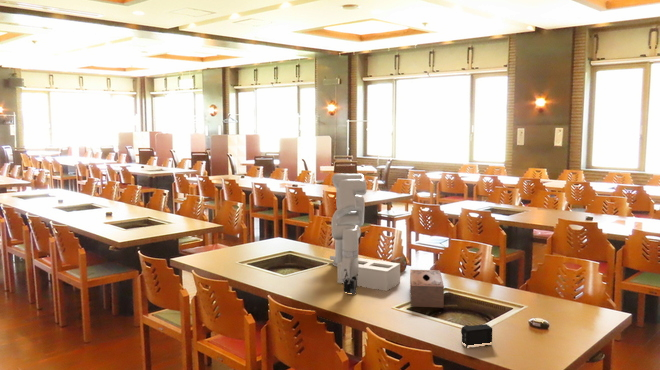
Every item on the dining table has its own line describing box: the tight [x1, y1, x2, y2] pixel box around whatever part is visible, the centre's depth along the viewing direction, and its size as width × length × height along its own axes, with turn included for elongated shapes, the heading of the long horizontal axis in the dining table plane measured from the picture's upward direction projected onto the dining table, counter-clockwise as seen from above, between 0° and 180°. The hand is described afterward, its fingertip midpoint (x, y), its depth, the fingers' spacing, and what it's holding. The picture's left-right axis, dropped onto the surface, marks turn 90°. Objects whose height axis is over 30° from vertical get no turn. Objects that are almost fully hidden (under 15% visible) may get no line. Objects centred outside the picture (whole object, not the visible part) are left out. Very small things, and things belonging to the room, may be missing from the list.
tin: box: [390, 256, 408, 274], centre depth 305 cm, size 15×3×8 cm, turn 143°
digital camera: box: [460, 323, 493, 345], centre depth 210 cm, size 10×5×7 cm, turn 104°
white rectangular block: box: [337, 257, 401, 292], centre depth 287 cm, size 28×16×10 cm, turn 60°
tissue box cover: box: [409, 269, 445, 309], centre depth 263 cm, size 26×14×10 cm, turn 173°
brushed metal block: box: [346, 279, 357, 295], centre depth 270 cm, size 5×2×7 cm, turn 60°
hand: (350, 289), depth 270 cm, fingers open, 6 cm apart
